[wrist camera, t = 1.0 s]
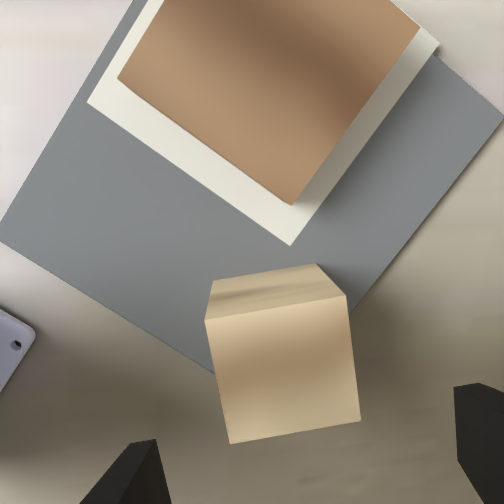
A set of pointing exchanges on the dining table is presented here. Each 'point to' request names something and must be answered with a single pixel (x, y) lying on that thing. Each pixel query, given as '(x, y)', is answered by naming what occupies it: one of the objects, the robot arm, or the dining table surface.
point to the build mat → (233, 193)
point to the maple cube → (281, 353)
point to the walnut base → (267, 77)
